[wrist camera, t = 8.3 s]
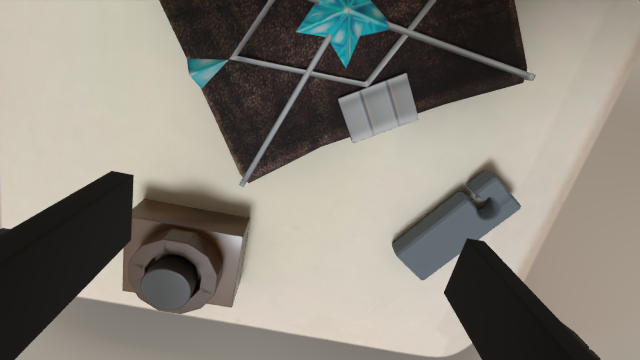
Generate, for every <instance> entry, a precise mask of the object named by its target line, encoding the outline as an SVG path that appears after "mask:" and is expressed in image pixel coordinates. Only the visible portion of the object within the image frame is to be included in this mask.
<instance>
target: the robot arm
mask: <svg viewBox="0 0 640 360" xmlns="http://www.w3.org/2000/svg"><path fill="white" fill-rule="evenodd" d="M132 202H133V175H130V174H125V173H119V172H114V171H111V172H109V173H107V174H106V175H104V176H102V177H100V178H99V179H97V180H95V181H94V182H92V183H90V184H88V185H87V186H85V187H83V188H81V189H80V190H78V191H76V192H74V193H73V194H71V195H69V196H68V197H66V198H64V199H62V200H61V201H59V202H57V203H55V204H54V205H52V206H50V207H48V208H47V209H45V210H43V211H42V212H40V213H38V214H36V215H35V216H33V217H31V218H29V219H28V220H26V221H24V222H22V223H21V224H19V225H17V226H16V227H14V228H12V229H5V228H2V229H0V360H15V359H16V358H17V357H18V355H20V353H21V352H22V351H23V350H24V349H25V348H26V347H27V346H28V345H29V344H30V343H31V342H32V341H33V340H34V339H35V338H36V337H37V336H38V335H39V334H40V333H41V332H42V331H43V330H44V329H45V328H46V327H47V326H48V325H49V324H50V323H51V322H52V321H53V319H55V318H56V317H57V315H58V314H59V313H60V312H61V311H62V310H63V309H64V308H65V307H66V306H67V305H68V304H69V303H70V302H71V301H72V300H73V299H74V298H75V297H76V296H77V295H78V294H79V293H80V292H81V291H82V290H83V289H84V288H85V287H86V286H87V285H88V284H89V283H90V282H91V281H92V280H93V279H94V278H95V276H96V275H97V274H98V273H99V272H100V271H101V270H102V269H103V268H104V267H105V266H106V265H107V264H108V263H109V262H110V261H111V260H112V259H113V258H114V257H115V256H116V255H117V254H118V253H119V252H120V251H121V250H122V249H123V248H124V247H125V246H126V245H127V244H128V243H129V242H130V241H131V230H132ZM444 294H445V296H446V297H447V299H448V301H449V303H450V304H451V306H452V308H453V310H454V311H455V313H456V315H457V317H458V318H459V320H460V322H461V324H462V325H463V327H464V329H465V331H466V332H467V334H468V336H469V338H470V339H471V341H472V343H473V345H474V346H475V348H476V350H477V352H478V353H479V355H480V357H481V359H482V360H600V358H599V357H598V356H597V355H596V354H595V353H594V352H593V351H592V350H590V349H589V346H587V344H585V342H584V341H583V340H582V339H581V338H580V337H579V336H578V335H577V334H576V333H575V332H574V331H572V330H571V329H570V328H568V327H567V326H566V325H564V324H563V323H562V322H560V320H558V318H557V317H555V315H554V314H553V313H552V312H551V311H550V310H549V309H548V308H547V307H546V306H545V305H544V304H543V303H542V302H541V300H540V299H539V298H538V297H537V296H536V295H535V294H534V293H533V292H532V291H531V290H530V289H529V288H528V287H527V286H526V285H525V284H524V283H523V282H522V281H521V279H520V278H519V277H518V276H517V275H516V274H515V273H514V272H513V271H512V270H511V269H510V268H509V267H508V266H507V265H506V264H505V263H504V262H503V261H502V260H501V258H500V257H499V256H498V255H497V254H496V253H495V252H494V251H493V250H492V249H491V248H490V247H489V246H488V245H487V244H486V243H485V242H484V241H479V240H474V239H469V238H467V239H466V241H465V244H464V246H463V249H462V251H461V253H460V256H459V258H458V260H457V263H456V265H455V268H454V270H453V272H452V275H451V277H450V279H449V282H448V284H447V286H446V289H445V291H444Z"/></svg>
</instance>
